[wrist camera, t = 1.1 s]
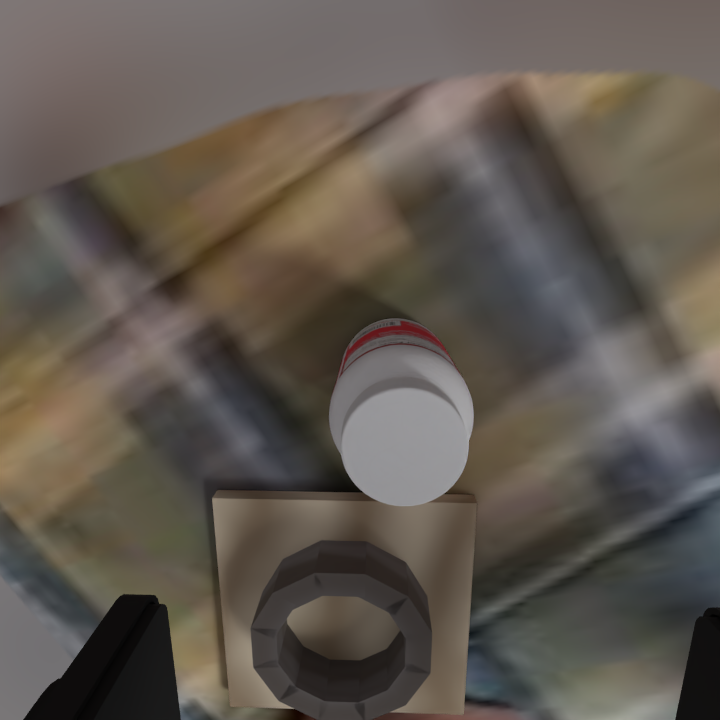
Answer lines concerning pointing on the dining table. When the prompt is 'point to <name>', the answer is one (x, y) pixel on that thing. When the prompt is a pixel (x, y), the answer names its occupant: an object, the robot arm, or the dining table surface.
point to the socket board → (345, 601)
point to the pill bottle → (400, 414)
